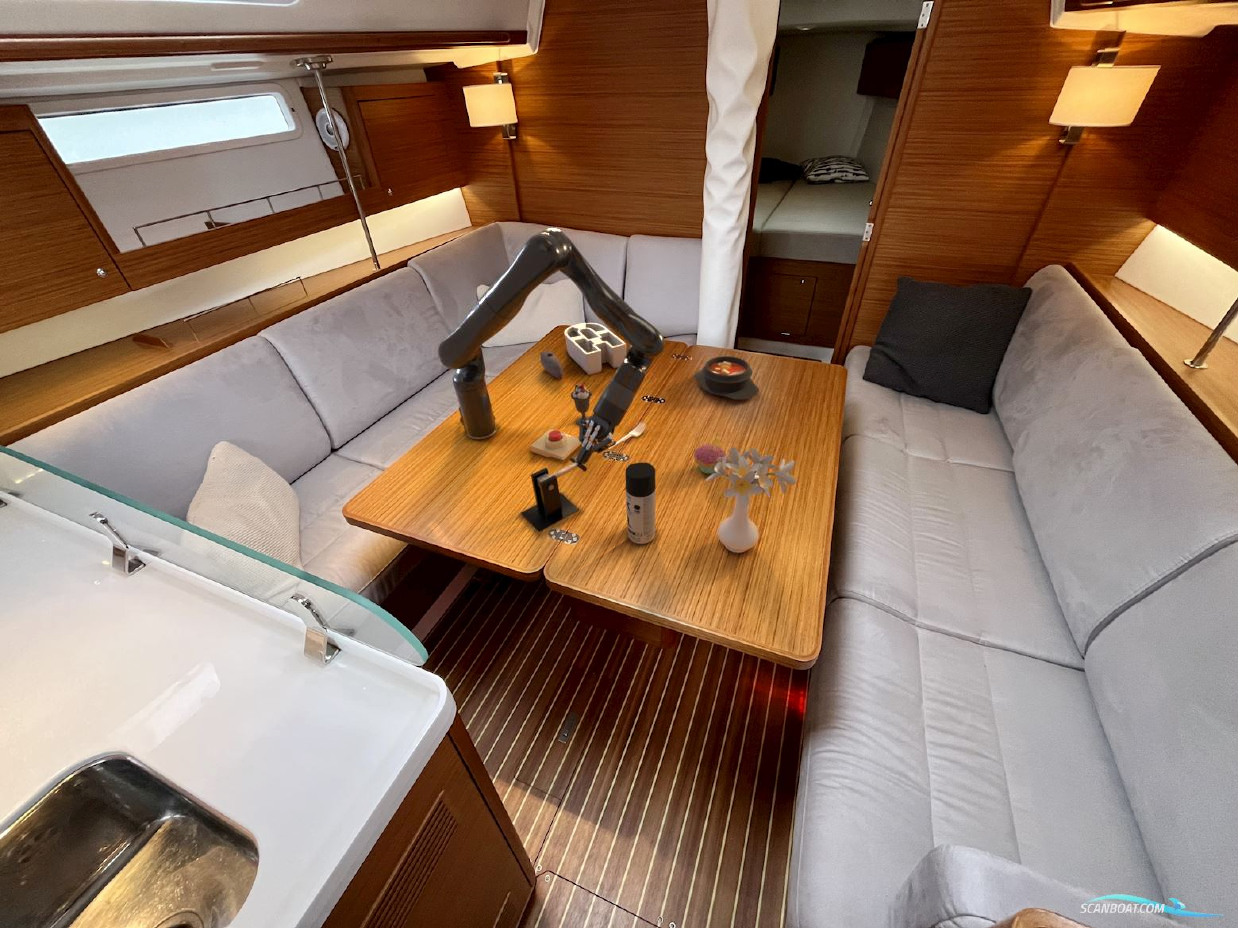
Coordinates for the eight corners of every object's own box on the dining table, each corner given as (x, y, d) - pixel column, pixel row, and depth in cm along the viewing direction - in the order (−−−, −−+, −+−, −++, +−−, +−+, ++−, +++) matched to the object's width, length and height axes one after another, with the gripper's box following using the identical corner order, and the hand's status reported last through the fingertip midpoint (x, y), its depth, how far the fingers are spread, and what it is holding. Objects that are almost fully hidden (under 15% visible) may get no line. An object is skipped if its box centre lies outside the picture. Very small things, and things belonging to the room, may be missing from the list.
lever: (574, 461, 128) (572, 454, 126) (587, 472, 124) (586, 464, 123) (534, 482, 122) (532, 474, 121) (547, 494, 119) (545, 486, 117)
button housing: (531, 451, 149) (529, 440, 147) (551, 434, 156) (549, 424, 153) (563, 463, 144) (561, 451, 142) (582, 445, 151) (581, 434, 148)
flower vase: (788, 550, 114) (808, 465, 98) (715, 572, 110) (724, 486, 95) (758, 513, 124) (773, 430, 108) (690, 532, 120) (695, 449, 104)
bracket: (560, 495, 133) (554, 457, 125) (579, 512, 127) (574, 474, 119) (521, 516, 127) (512, 477, 119) (539, 535, 122) (531, 496, 114)
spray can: (626, 526, 123) (623, 462, 110) (653, 523, 123) (653, 459, 111) (629, 546, 117) (625, 481, 105) (657, 543, 118) (657, 478, 105)
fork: (595, 455, 146) (595, 450, 145) (640, 426, 157) (640, 421, 156) (603, 459, 144) (603, 454, 143) (648, 429, 156) (648, 424, 154)
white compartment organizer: (588, 375, 186) (586, 354, 180) (560, 348, 206) (558, 328, 200) (627, 365, 191) (626, 344, 186) (597, 339, 211) (595, 319, 206)
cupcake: (726, 462, 141) (730, 427, 133) (721, 480, 134) (724, 445, 127) (696, 457, 143) (698, 422, 136) (690, 475, 137) (691, 440, 129)
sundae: (591, 428, 158) (587, 386, 149) (571, 426, 159) (566, 385, 150) (596, 416, 163) (593, 375, 154) (577, 415, 164) (572, 374, 155)
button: (547, 440, 147) (546, 435, 146) (554, 433, 150) (553, 429, 149) (556, 443, 146) (556, 438, 145) (564, 437, 148) (563, 432, 147)
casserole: (771, 393, 169) (774, 371, 164) (730, 411, 162) (732, 388, 157) (721, 366, 186) (723, 346, 181) (682, 381, 179) (682, 360, 174)
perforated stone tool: (568, 380, 184) (566, 363, 179) (555, 384, 182) (552, 366, 178) (553, 364, 194) (551, 348, 190) (540, 368, 192) (538, 351, 188)
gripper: (589, 387, 125) (555, 446, 126) (622, 407, 116) (585, 470, 118) (607, 398, 130) (574, 454, 132) (640, 417, 122) (605, 477, 124)
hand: (580, 462), depth 125 cm, fingers closed
